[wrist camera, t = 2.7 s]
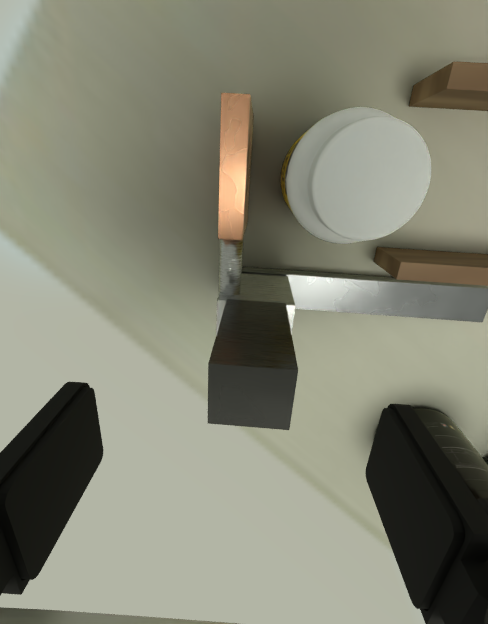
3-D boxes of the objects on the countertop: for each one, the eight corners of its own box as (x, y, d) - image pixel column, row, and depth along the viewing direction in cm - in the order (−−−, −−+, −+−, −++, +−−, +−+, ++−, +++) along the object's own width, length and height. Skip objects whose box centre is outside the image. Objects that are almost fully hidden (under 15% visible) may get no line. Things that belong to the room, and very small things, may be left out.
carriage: (232, 115, 18) (186, 22, 7) (304, 119, 18) (371, 31, 7) (226, 300, 23) (191, 421, 12) (282, 304, 23) (303, 431, 12)
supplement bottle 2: (424, 472, 29) (522, 654, 18) (358, 449, 28) (418, 623, 17) (472, 420, 26) (622, 595, 15) (401, 393, 26) (505, 556, 15)
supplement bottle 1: (272, 139, 19) (282, 107, 10) (365, 118, 18) (465, 65, 9) (285, 229, 21) (302, 271, 12) (368, 214, 20) (453, 245, 11)
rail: (230, 265, 22) (229, 270, 21) (483, 283, 22) (495, 289, 21) (229, 297, 23) (227, 303, 22) (471, 315, 23) (482, 322, 22)
